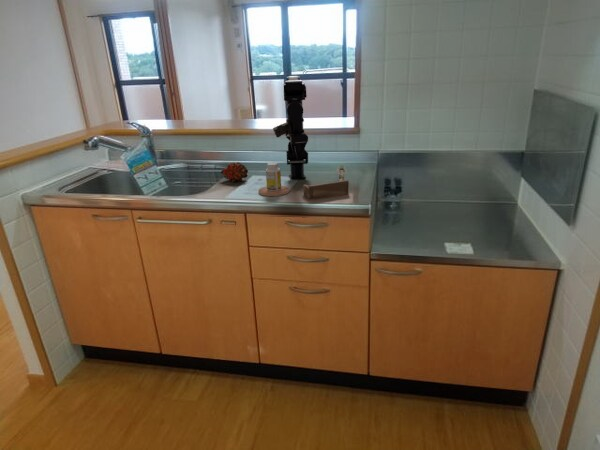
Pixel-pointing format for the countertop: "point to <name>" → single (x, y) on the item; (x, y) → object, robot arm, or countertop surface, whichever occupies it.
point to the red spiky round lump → (235, 172)
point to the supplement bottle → (273, 177)
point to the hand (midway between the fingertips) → (296, 157)
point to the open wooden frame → (326, 189)
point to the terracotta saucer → (280, 192)
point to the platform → (341, 172)
